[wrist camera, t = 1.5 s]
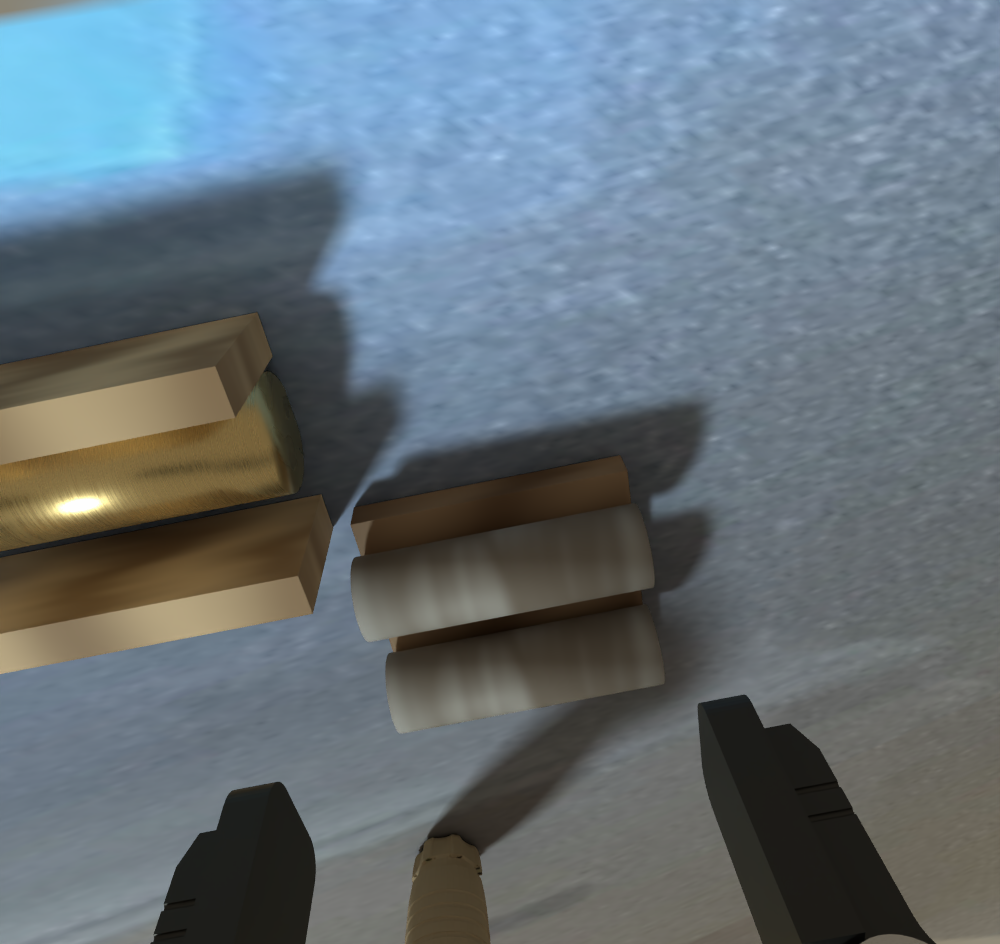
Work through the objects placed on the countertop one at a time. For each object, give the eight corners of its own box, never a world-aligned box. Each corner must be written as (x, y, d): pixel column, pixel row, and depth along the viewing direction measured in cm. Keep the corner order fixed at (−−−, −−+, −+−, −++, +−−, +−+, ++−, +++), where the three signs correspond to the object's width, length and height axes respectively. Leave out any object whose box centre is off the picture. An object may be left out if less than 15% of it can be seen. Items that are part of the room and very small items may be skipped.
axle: (285, 371, 25) (245, 371, 21) (311, 483, 26) (278, 503, 22) (-49, 438, 26) (-149, 450, 22) (-16, 548, 26) (-108, 579, 22)
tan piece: (257, 312, 24) (215, 366, 19) (333, 528, 28) (312, 613, 23) (-162, 397, 24) (-298, 470, 20) (-27, 598, 28) (-114, 696, 24)
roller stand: (620, 455, 27) (648, 515, 23) (642, 639, 31) (668, 714, 28) (354, 507, 27) (340, 574, 24) (412, 683, 31) (408, 763, 28)
